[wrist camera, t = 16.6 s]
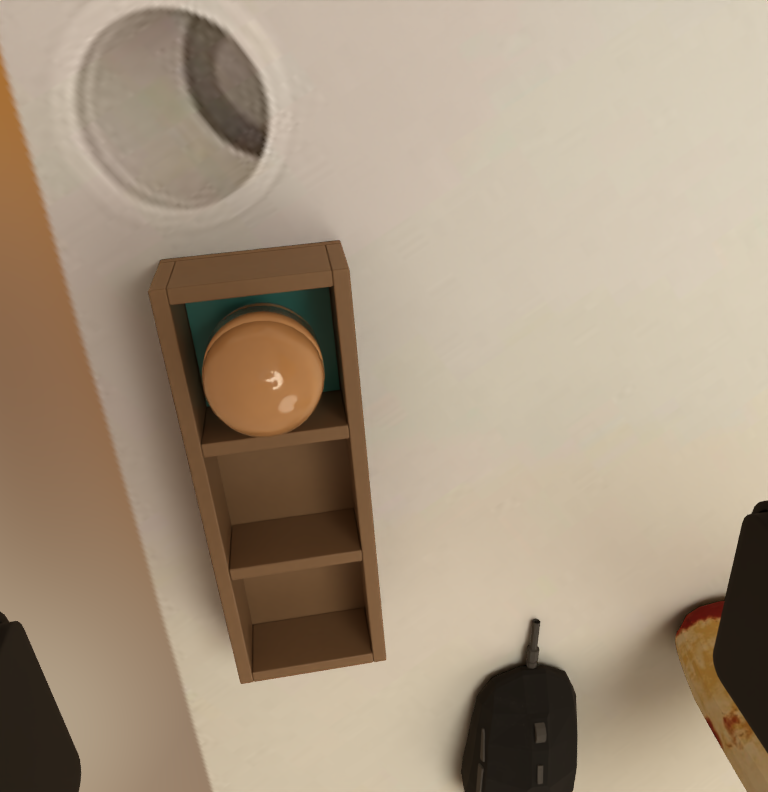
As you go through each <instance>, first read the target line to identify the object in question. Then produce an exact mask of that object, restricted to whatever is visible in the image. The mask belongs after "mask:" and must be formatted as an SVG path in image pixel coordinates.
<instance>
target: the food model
mask: <svg viewBox="0 0 768 792" xmlns="http://www.w3.org/2000/svg"><path fill="white" fill-rule="evenodd" d="M723 606H724V601H719V602H715V603H711V604H708V605H704V606H700V607H698V608H697V609H695V610H694V611H692V612H691V613H689V614H688V615H686V617H685V619H684V621H683V623H682V625H681V627H680V628H679V629H678V631H677V633H676V638H675V644H676V649H677V652H678V656H679V660H680V662H681V665H682V668H683V671H684V674H685V677H686V679H687V682H688V684H689V687H690V689H691V691H692V694H693V696H694V699H695V701H696V703H697V705H698V706H699V708H700V710H701V712H702V714H703V716H704V718H705V719H706V721H707V723H708V725H709V727H710V728H711V730H712V732H713V734H714V735H715V737H716V739H717V741H718V742H719V744H720V746H721V748H722V749H723V751H724V753H725V755H726V757H727V758H728V760H729V762H730V763H731V765H732V767H733V769H734V770H735V772H736V774H737V775H738V777H739V779H740V781H741V782H742V784H743V786H744V787H745V789H746V791H747V792H768V753H767V752H766V750H765V749H764V747H763V746H762V744H761V743H760V741H759V740H758V738H757V736H756V735H755V733H754V732H753V730H752V729H751V727H750V726H749V724H748V723H747V721H746V720H745V718H744V717H743V715H742V714H741V712H740V711H739V709H738V707H737V706H736V704H735V703H734V701H733V700H732V698H731V697H730V695H729V694H728V692H727V691H726V689H725V688H724V686H723V685H722V683H721V681H720V680H719V678H718V676H717V673H716V671H715V667H714V663H713V649H714V645H715V641H716V636H717V632H718V627H719V623H720V619H721V614H722V610H723Z"/></svg>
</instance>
